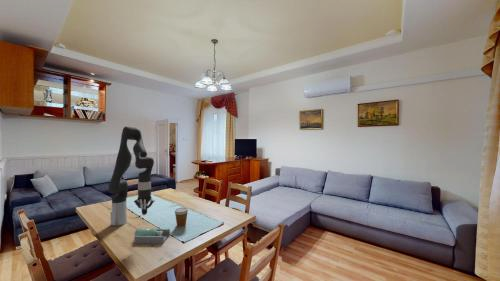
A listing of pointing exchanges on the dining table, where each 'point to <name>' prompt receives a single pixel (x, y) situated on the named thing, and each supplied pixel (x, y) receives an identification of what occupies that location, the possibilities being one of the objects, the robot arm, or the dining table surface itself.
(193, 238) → the dining table surface
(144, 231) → the bottle
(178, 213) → the disposable coffee cup
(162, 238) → the u rest
